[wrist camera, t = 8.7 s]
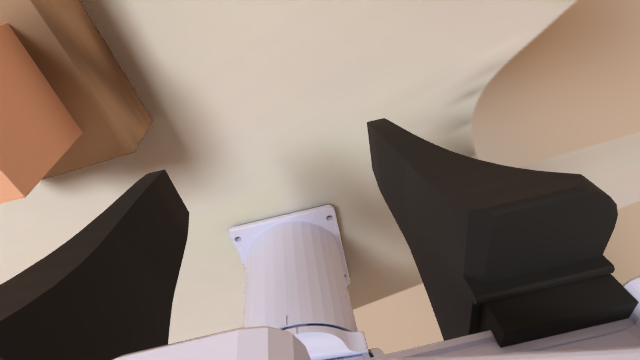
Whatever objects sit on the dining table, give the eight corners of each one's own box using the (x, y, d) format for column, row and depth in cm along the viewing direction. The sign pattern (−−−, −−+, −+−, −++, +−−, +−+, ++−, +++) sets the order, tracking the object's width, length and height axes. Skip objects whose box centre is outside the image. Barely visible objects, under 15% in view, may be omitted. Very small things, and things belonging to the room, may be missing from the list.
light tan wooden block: (154, 117, 21) (134, 152, 18) (14, 159, 21) (-30, 201, 18) (47, -60, 16) (-10, -57, 12) (-137, 0, 16) (-238, 19, 13)
